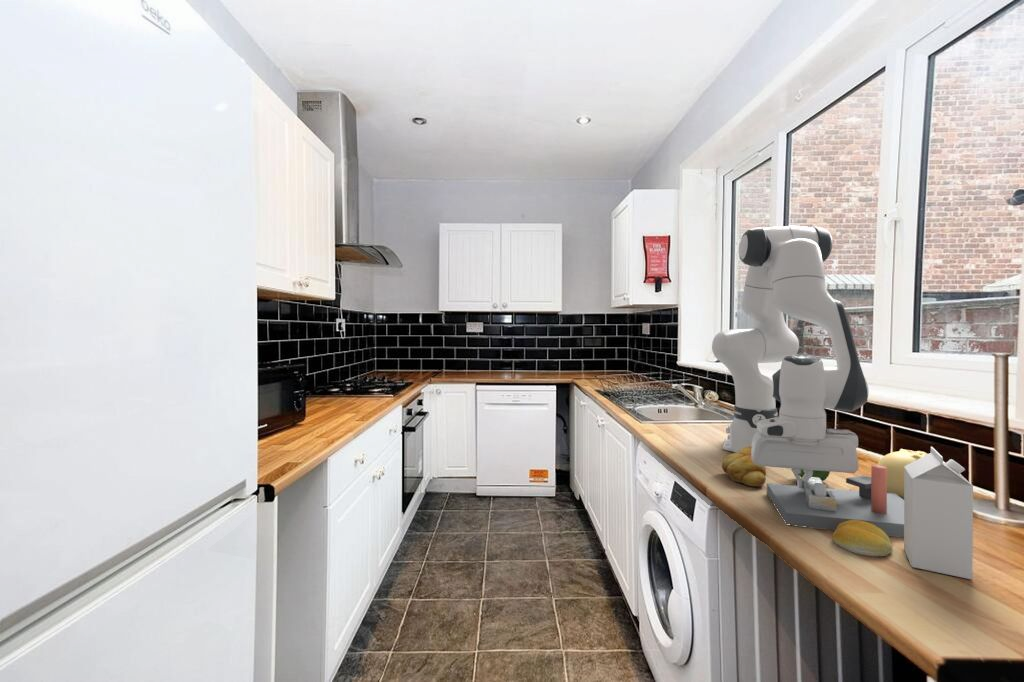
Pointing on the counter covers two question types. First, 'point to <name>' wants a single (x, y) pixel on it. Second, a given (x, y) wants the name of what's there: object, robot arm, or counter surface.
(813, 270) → the robot arm
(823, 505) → the link
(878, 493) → the peg
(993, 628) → the counter surface
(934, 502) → the milk carton
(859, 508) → the board
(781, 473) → the counter surface
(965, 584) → the counter surface
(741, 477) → the bread roll
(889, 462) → the sculpture
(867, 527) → the bread roll
